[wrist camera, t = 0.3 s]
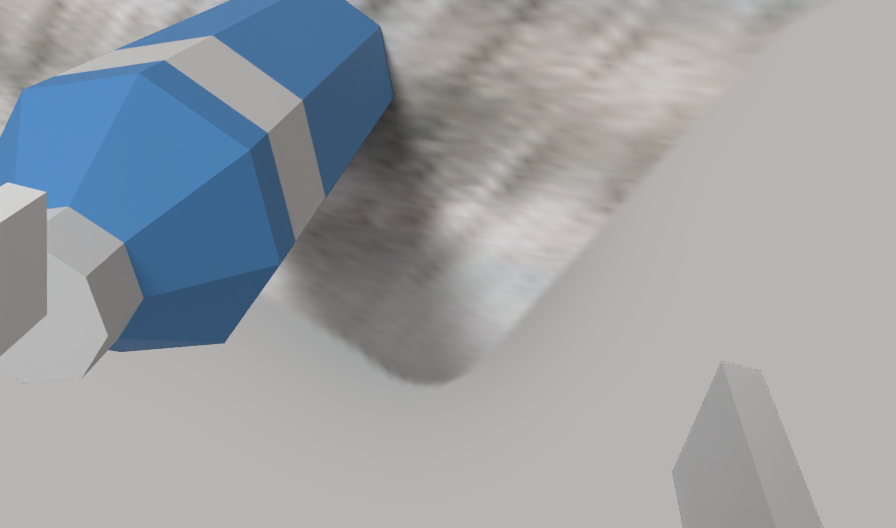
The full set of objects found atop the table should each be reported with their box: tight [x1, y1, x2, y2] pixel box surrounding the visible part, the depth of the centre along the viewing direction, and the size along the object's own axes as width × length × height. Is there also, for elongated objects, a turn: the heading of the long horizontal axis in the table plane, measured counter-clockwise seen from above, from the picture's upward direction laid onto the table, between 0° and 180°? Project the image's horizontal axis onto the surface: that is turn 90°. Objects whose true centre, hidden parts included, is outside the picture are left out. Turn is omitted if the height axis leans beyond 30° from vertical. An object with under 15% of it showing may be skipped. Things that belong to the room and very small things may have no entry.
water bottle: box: [0, 0, 394, 383], centre depth 31 cm, size 9×9×25 cm
